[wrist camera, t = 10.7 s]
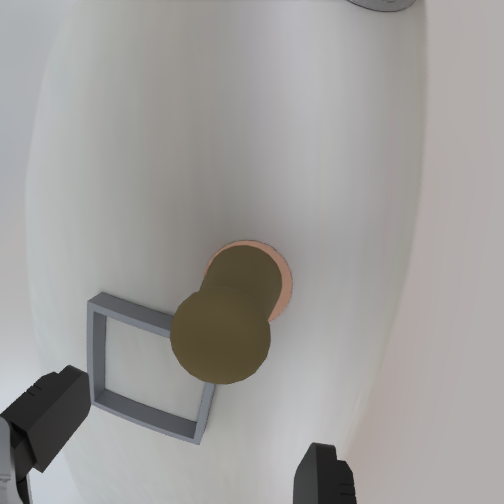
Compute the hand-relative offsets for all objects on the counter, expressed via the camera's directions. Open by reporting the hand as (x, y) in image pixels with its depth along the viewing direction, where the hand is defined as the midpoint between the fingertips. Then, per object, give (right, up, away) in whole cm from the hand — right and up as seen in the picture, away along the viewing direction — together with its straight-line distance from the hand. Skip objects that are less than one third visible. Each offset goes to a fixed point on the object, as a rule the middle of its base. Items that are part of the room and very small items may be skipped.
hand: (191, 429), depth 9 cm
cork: (+1, +4, +16) cm, 16 cm away
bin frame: (-7, -5, +19) cm, 21 cm away
